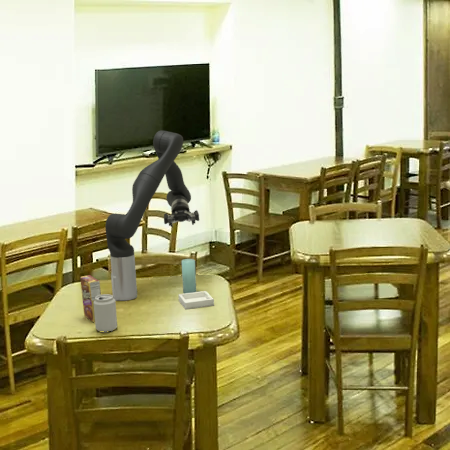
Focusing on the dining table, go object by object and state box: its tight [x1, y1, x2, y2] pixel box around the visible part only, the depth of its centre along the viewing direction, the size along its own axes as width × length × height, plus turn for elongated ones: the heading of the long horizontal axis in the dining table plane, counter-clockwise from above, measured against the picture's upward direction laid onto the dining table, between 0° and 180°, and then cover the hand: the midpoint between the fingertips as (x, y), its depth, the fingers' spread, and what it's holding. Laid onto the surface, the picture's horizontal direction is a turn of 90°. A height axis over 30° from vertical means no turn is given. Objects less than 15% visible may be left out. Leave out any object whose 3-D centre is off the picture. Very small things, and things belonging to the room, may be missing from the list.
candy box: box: [79, 274, 102, 323], centre depth 277 cm, size 9×4×15 cm, turn 33°
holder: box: [178, 290, 215, 310], centre depth 291 cm, size 11×11×2 cm
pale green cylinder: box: [181, 258, 197, 294], centre depth 303 cm, size 5×5×13 cm
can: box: [93, 293, 118, 333], centre depth 266 cm, size 8×8×12 cm
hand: (182, 223), depth 306 cm, fingers open, 8 cm apart
